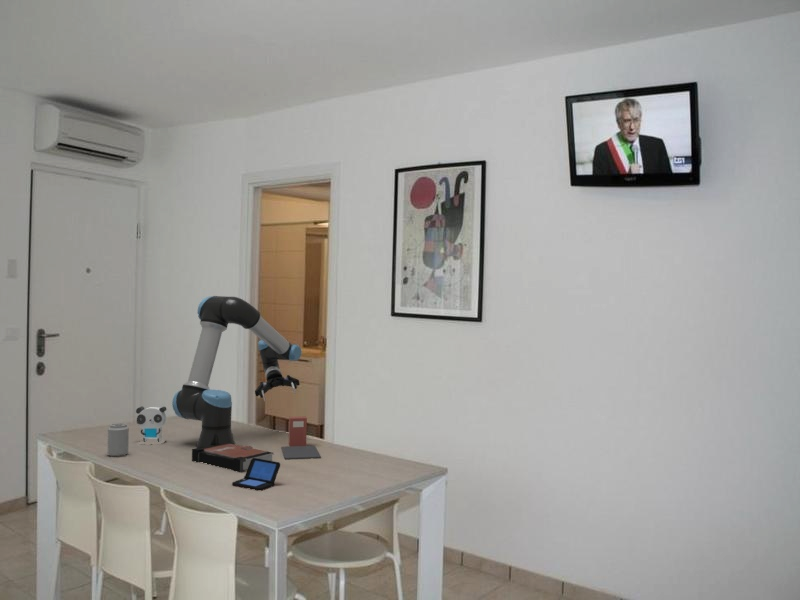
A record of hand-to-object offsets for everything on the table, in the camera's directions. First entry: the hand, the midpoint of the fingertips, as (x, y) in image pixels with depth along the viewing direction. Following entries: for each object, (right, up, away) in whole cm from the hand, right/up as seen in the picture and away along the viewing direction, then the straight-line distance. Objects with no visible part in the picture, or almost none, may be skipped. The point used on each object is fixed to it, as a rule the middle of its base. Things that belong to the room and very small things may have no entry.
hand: (279, 394), depth 300 cm
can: (-56, -18, -37) cm, 70 cm away
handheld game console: (+5, -20, -74) cm, 77 cm away
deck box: (+10, -19, -15) cm, 26 cm away
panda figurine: (-52, -18, -14) cm, 57 cm away
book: (-10, -20, -45) cm, 50 cm away
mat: (+13, -20, -28) cm, 37 cm away
